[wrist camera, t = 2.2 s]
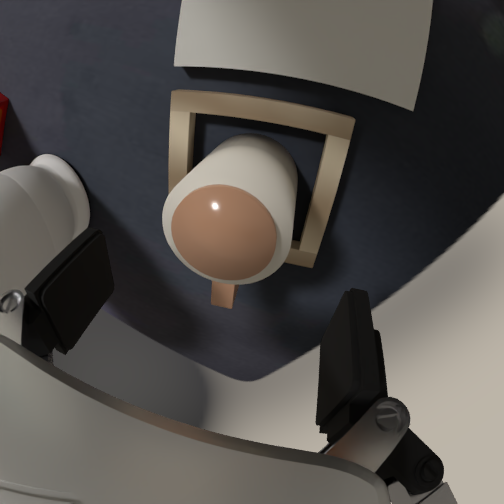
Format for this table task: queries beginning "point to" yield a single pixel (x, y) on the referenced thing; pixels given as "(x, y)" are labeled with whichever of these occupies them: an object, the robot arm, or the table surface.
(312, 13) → the mat
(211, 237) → the cylinder with brown end
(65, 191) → the jar
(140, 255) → the table surface
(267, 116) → the wooden square frame
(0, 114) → the baking soda box
